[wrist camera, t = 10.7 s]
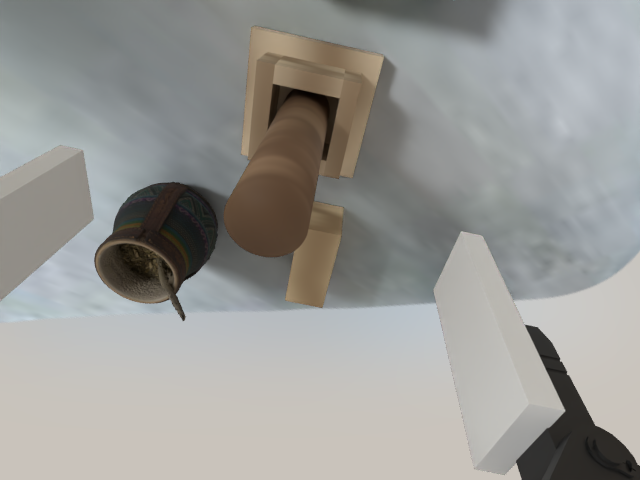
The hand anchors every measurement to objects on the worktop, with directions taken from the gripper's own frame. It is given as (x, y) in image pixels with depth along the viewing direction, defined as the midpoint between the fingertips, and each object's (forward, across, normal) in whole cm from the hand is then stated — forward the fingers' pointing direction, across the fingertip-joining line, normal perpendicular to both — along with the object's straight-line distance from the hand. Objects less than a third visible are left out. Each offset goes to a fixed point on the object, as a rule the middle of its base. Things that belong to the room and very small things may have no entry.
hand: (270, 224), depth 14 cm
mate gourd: (+15, -9, -10) cm, 20 cm away
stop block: (+15, +2, -10) cm, 18 cm away
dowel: (+14, 0, 0) cm, 14 cm away
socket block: (+15, 0, 0) cm, 15 cm away
